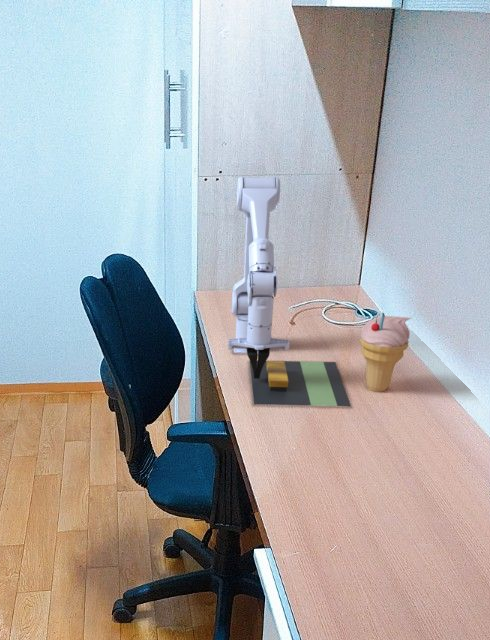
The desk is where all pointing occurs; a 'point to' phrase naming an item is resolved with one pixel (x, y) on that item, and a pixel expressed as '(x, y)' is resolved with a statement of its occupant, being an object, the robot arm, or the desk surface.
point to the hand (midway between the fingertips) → (256, 376)
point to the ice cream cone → (383, 349)
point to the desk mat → (303, 386)
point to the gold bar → (277, 375)
